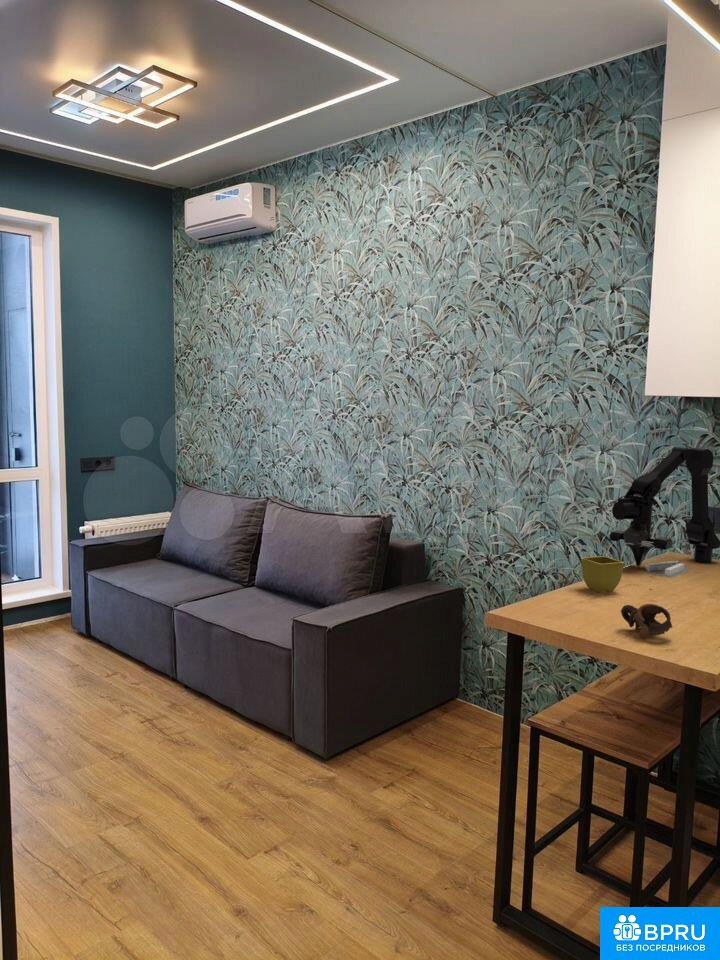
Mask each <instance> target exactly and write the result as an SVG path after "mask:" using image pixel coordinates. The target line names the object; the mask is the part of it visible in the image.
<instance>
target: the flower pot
mask: <svg viewBox="0 0 720 960" xmlns="http://www.w3.org/2000/svg"><path fill="white" fill-rule="evenodd" d="M580 562H581V573H582V578H583V580H584V583H585V585H586V587H587V588H588V589H589V590H593V591H595V592H597V593H607V592H613V591H615V590H616V588H617V587H618V585H620V584H619V583H620V582H621V579H622V576H623V572H624V570H623V569H624V565H625V561H622V560H619V559H614V558H611V557H608V556H605V555H603V556H602V555H601V556H600V555H599V556H588V557H587V556H586V557H580Z"/></svg>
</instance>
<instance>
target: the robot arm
mask: <svg viewBox="0 0 720 960" xmlns="http://www.w3.org/2000/svg"><path fill="white" fill-rule="evenodd" d="M684 462H685V466H686V469H687V471H688V472H689V474H690V476H691V477H690V479H691V513H692V514H691V518H690V519H689V521H686V522H685V534H686V537H687V540H688V544H689V545H694V549H693V561H694V563H698V564H712V562H713V553H714V551H713V550H716V549H719V548H720V538H718V535H716V531H715V525H714V523H713V522H712V520H711V518H710V515H709V486H708V485H709V479H708V478H709V477H708V476H709V474H710V471H711V470H712V468H713V466H714V465H713V464H714V453H713V452H712V451H711V449H709V448H708V449H707V448H700V447H690V448H688V447H682V446H681V447H680V446H675V447H674V448H672V450H671V451H670V452H669V453H668V454H667V456H665V457H664V458H663V459H662V460H661V461H660V462H659V463H658V464H657V465H656V466H655V467H654V468H653V469H652V470H650V471H649V472H648V473H644V474H641V475H640V476H639V477H637V478H635V479H634V480H633V481H632V482H631V485H630V487H629V488H628V490H627V492H626V493H625V495H624V497H618V498H617V501H616V502H614V504H613V506H612V509H611V513H612V516H613V517H614V519H616V520H617V521H622V520H624V521H625V520H631V521H630V523H629V527H628V528H627V529H625V531H624V530H620V529H619V530H618V529H617V530H613V531H611V532H610V533H609V538H608V540H609V541H612V542H619V541H621V540H623V542H624V543H625V545H626V546H627V547H629V548H630V549H631V551H632V554H633V557H634V561H635V565H636V566H637V567H640V566H641V565H642V563H643V561H644V559H645V557H646V556H647V554H648V553H649V551H650V549H652V548H655V549H659V550H668V549H671V548H673V543H674V542H673V540H672V538H669V537H663V536H659V537H656V538H652V535H653V534H652V532H651V530H652V526H653V524H654V523H653V521H652V519H653V505H659V502H658V501H657V500H656V499H655V497H656V496H657V494H658V493H659V492H660V491H661V489H662V484H663V483H664V481H665V480H666V479H667V478H668V477H669V476H670V475H672V474H673V473H674V471H676V470H677V468H678V467H680V466H681V465H682V464H683V463H684Z"/></svg>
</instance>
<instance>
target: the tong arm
mask: <svg viewBox="0 0 720 960" xmlns="http://www.w3.org/2000/svg"><path fill="white" fill-rule="evenodd" d="M679 563H681V561H680V560H668V561H659V562H652V563H650V562H649V563H646V565H645V571H655V570H664V569H666V568H669V567H671V566H674V565H676V564H679Z"/></svg>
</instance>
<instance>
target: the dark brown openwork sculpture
mask: <svg viewBox="0 0 720 960" xmlns="http://www.w3.org/2000/svg"><path fill="white" fill-rule="evenodd" d="M620 613H621V616H622V618H623V620H624V621H625V622H627V624H628V626H629V628H633V627H634V626H635V629H639V628H640V629H639V632H638V636H639V638H642V639H643V640H644V639H646V638H647V637H654V636H660V635H665V632H666V633H667V632H668V631H670V629H672V628H673V624H672V621H671V615H670V612H669V611H668V610H667V609H665V607H662V606H660V605H658V604H654V603H645V604H642V605H641V606H639V608H638V607H635V606H633V605H630V604H625V605H624V606H622V608H621V610H620ZM661 613H662V614H663V615H664V617H666V620H665V621H664V622H659V621H658V620H657V619H655V618H656V616H657V615H660V614H661Z"/></svg>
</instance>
